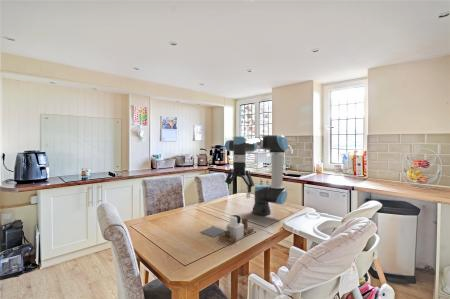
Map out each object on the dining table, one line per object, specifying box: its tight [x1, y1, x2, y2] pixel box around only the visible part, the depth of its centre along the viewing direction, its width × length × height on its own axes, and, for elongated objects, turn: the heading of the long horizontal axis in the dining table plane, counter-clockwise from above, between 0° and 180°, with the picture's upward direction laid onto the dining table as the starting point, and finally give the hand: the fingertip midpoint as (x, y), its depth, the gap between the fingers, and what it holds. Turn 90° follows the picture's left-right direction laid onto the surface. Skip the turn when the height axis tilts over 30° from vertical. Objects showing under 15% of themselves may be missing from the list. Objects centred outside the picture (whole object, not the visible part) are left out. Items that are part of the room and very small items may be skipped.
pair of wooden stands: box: [218, 217, 254, 245], centre depth 135 cm, size 23×10×8 cm, turn 140°
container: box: [226, 214, 245, 241], centre depth 133 cm, size 8×8×13 cm
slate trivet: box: [200, 225, 227, 238], centre depth 140 cm, size 12×12×1 cm
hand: (238, 195), depth 131 cm, fingers open, 13 cm apart
